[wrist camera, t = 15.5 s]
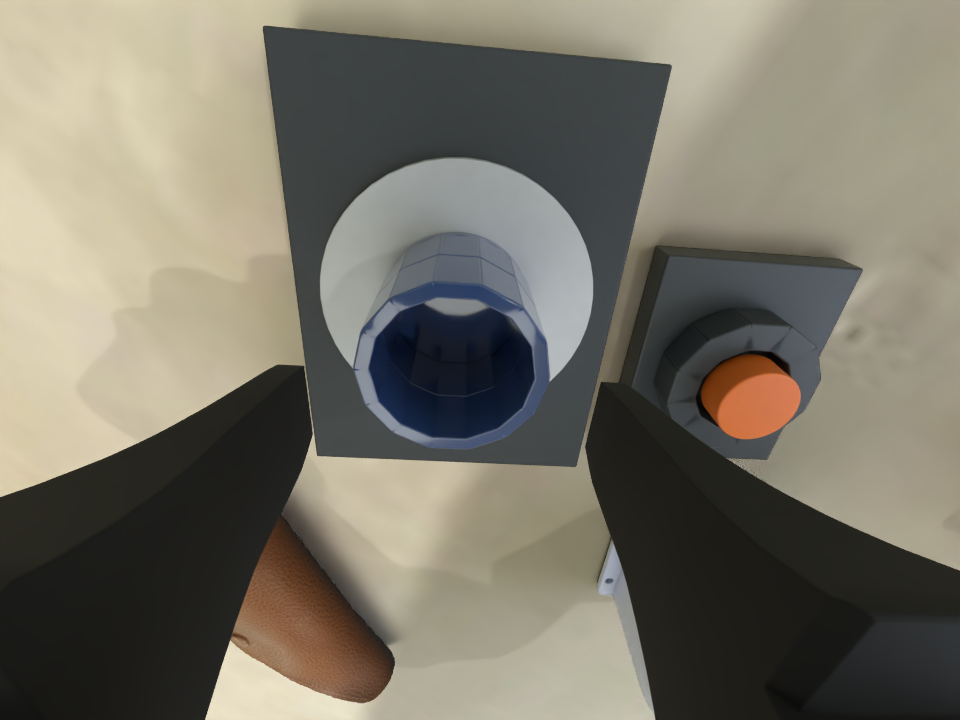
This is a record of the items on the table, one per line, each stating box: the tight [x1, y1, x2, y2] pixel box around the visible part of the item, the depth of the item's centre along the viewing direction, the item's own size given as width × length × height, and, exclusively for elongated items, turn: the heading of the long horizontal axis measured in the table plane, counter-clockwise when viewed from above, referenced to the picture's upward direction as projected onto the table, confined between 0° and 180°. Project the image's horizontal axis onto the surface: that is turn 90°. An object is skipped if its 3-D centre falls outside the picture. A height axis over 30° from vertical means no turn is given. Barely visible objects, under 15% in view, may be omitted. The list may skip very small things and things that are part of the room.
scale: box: [263, 26, 672, 467], centre depth 18 cm, size 16×12×3 cm
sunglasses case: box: [230, 515, 395, 703], centre depth 28 cm, size 18×7×7 cm
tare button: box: [701, 354, 801, 439], centre depth 19 cm, size 3×3×2 cm
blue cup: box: [353, 232, 550, 450], centre depth 15 cm, size 5×5×5 cm
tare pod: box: [620, 246, 863, 460], centre depth 20 cm, size 10×8×3 cm
